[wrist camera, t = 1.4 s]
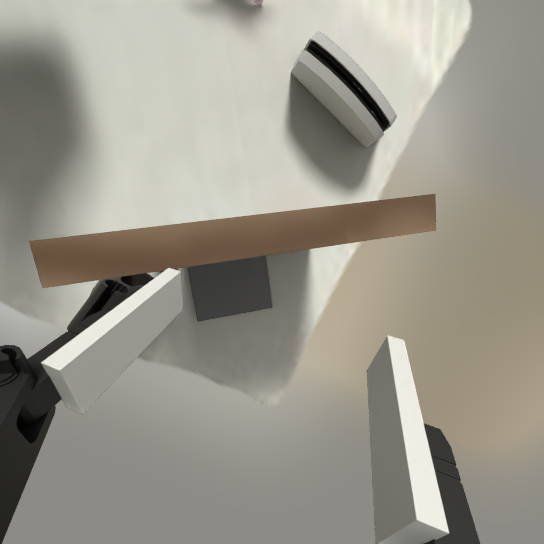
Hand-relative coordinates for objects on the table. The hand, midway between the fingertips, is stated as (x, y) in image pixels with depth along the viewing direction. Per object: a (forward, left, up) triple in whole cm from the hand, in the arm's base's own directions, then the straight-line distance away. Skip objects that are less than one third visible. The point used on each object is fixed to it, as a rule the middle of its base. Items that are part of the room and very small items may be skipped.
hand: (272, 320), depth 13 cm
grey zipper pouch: (-23, +18, -27) cm, 40 cm away
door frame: (-4, 0, -27) cm, 27 cm away
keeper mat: (+3, -2, -26) cm, 27 cm away
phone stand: (+1, -16, -27) cm, 31 cm away
